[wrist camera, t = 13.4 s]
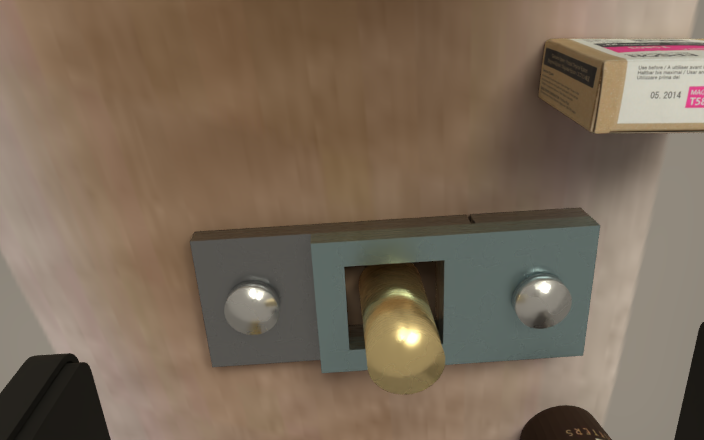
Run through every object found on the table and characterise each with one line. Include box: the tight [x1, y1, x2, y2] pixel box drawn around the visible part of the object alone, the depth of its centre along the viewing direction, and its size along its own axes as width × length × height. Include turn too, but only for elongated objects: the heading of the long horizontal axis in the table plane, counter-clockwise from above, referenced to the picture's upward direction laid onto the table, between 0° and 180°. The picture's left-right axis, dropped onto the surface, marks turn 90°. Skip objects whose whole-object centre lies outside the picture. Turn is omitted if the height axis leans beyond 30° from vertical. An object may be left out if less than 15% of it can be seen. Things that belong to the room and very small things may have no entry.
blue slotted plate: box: [311, 208, 600, 373], centre depth 39 cm, size 10×18×4 cm, turn 93°
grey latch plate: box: [190, 215, 471, 367], centre depth 39 cm, size 10×18×2 cm, turn 93°
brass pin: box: [359, 262, 445, 394], centre depth 36 cm, size 4×4×9 cm
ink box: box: [538, 38, 704, 134], centre depth 31 cm, size 10×4×8 cm, turn 90°
